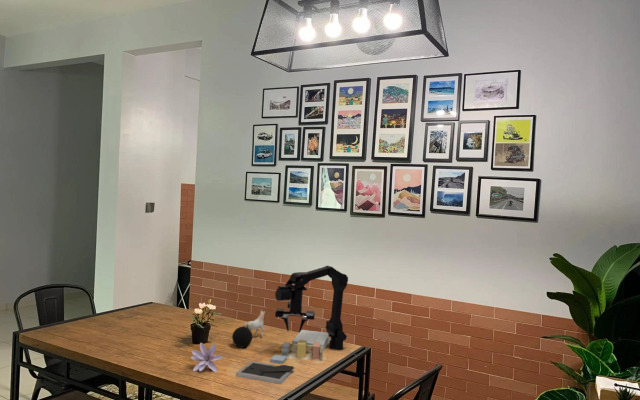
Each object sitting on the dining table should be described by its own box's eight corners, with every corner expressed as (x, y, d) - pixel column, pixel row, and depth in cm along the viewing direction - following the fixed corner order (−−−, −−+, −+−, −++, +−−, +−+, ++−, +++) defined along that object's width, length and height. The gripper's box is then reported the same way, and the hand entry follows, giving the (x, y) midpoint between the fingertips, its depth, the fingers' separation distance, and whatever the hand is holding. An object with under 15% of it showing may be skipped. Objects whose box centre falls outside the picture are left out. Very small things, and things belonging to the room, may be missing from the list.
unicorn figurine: (270, 334, 268) (271, 310, 268) (250, 343, 251) (251, 318, 251) (259, 332, 272) (260, 308, 271) (238, 341, 254) (240, 315, 254)
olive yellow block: (306, 353, 237) (306, 340, 236) (305, 358, 231) (306, 344, 230) (297, 353, 237) (298, 340, 237) (296, 357, 231) (297, 343, 231)
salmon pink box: (319, 354, 237) (319, 342, 237) (318, 359, 230) (319, 346, 230) (313, 354, 237) (313, 341, 237) (312, 358, 230) (313, 346, 230)
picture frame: (293, 372, 216) (251, 365, 222) (294, 366, 216) (251, 359, 222) (281, 385, 201) (235, 377, 207) (281, 379, 201) (235, 371, 207)
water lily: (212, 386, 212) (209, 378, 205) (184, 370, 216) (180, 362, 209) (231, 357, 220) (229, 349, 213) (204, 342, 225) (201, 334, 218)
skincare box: (291, 351, 243) (322, 354, 240) (291, 340, 243) (322, 343, 240) (301, 339, 264) (330, 342, 260) (301, 329, 264) (330, 331, 260)
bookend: (289, 352, 237) (290, 342, 237) (288, 356, 231) (288, 346, 231) (283, 352, 237) (284, 342, 237) (282, 356, 231) (282, 346, 231)
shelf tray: (322, 356, 238) (322, 345, 238) (321, 363, 228) (322, 352, 228) (281, 353, 239) (282, 343, 239) (279, 360, 229) (280, 349, 229)
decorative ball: (228, 347, 243) (229, 328, 242) (238, 342, 252) (239, 323, 252) (245, 351, 239) (246, 331, 239) (255, 345, 249) (256, 326, 248)
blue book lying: (286, 362, 227) (286, 356, 227) (282, 367, 221) (282, 360, 221) (274, 360, 229) (274, 354, 229) (269, 365, 222) (270, 359, 222)
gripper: (316, 297, 241) (313, 328, 241) (278, 294, 241) (276, 325, 241) (315, 302, 230) (313, 335, 230) (276, 299, 230) (273, 332, 230)
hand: (293, 331), depth 233 cm, fingers open, 5 cm apart
